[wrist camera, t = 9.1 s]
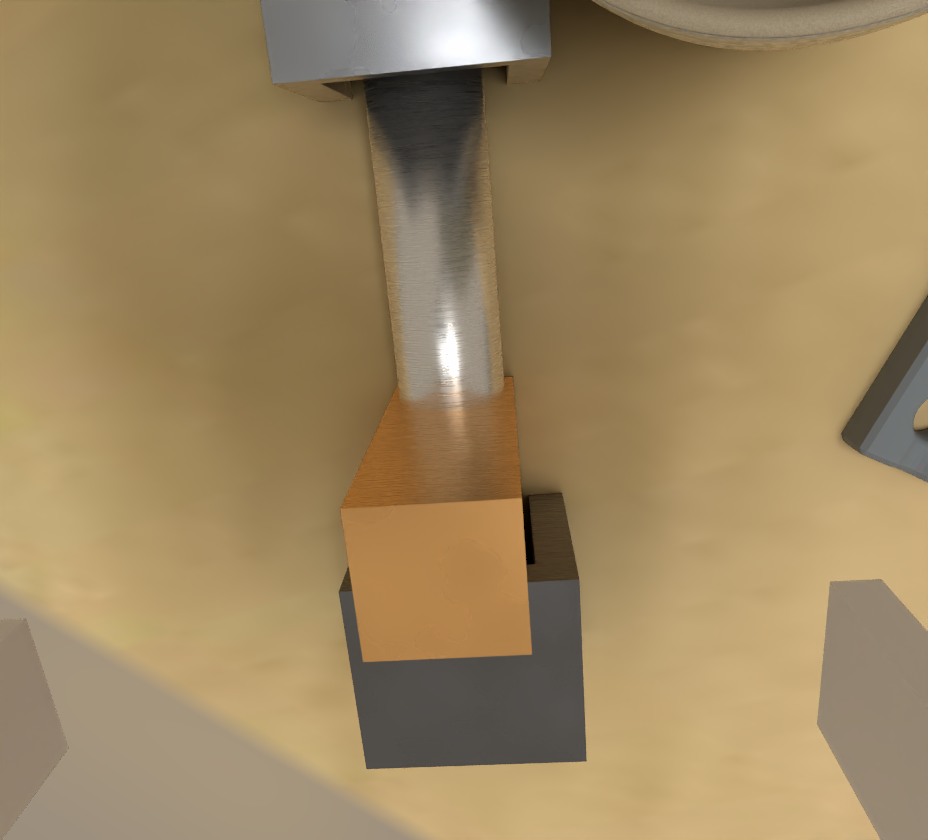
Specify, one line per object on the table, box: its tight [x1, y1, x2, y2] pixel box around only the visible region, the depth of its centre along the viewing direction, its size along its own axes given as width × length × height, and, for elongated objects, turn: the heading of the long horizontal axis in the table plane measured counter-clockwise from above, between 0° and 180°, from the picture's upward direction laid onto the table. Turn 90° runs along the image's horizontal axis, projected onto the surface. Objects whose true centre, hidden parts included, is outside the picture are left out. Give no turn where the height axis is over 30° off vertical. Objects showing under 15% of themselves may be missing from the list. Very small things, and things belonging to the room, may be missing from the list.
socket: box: [339, 493, 586, 769], centre depth 25 cm, size 6×7×6 cm
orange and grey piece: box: [340, 68, 532, 662], centre depth 21 cm, size 19×4×10 cm, turn 5°
